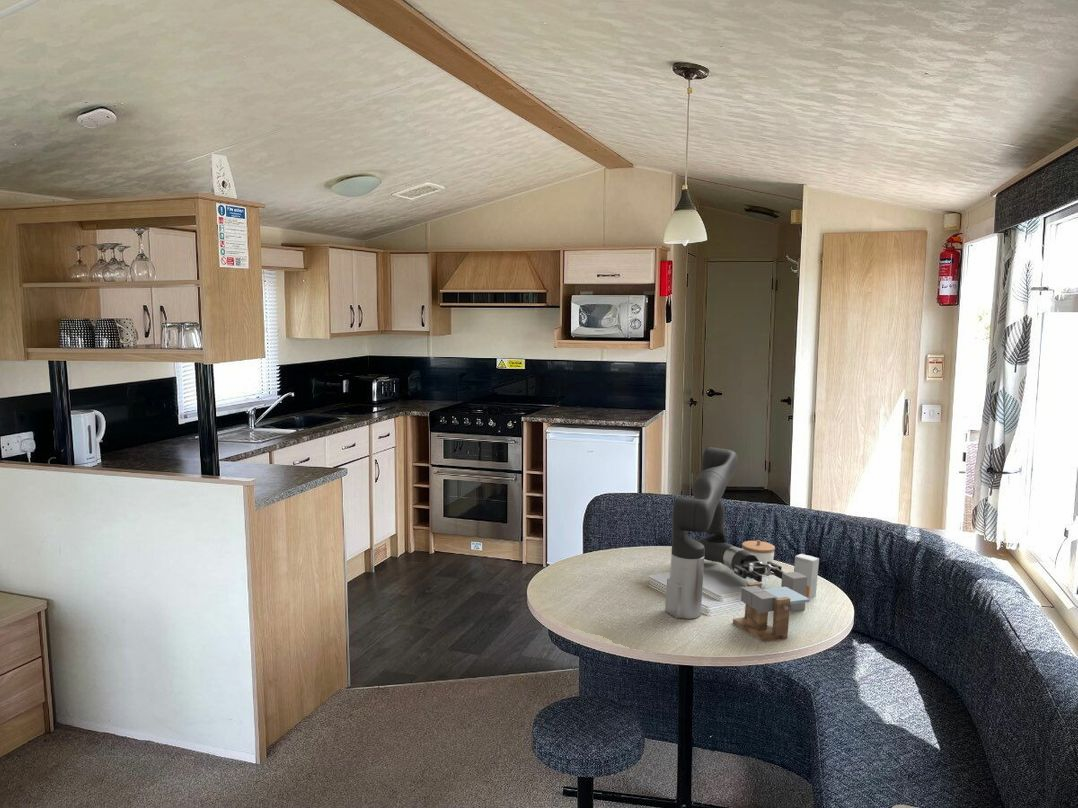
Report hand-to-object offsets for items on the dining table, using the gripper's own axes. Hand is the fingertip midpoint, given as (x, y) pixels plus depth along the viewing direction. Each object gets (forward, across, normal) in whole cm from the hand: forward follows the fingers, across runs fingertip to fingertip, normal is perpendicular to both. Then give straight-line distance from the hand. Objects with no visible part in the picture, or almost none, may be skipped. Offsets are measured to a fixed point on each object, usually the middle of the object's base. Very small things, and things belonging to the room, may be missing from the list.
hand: (772, 577), depth 247 cm
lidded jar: (-24, +13, +6) cm, 28 cm away
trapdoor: (+21, -16, -1) cm, 26 cm away
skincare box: (+2, +11, +6) cm, 13 cm away
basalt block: (+10, 0, +6) cm, 11 cm away
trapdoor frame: (+20, -20, +6) cm, 29 cm away
